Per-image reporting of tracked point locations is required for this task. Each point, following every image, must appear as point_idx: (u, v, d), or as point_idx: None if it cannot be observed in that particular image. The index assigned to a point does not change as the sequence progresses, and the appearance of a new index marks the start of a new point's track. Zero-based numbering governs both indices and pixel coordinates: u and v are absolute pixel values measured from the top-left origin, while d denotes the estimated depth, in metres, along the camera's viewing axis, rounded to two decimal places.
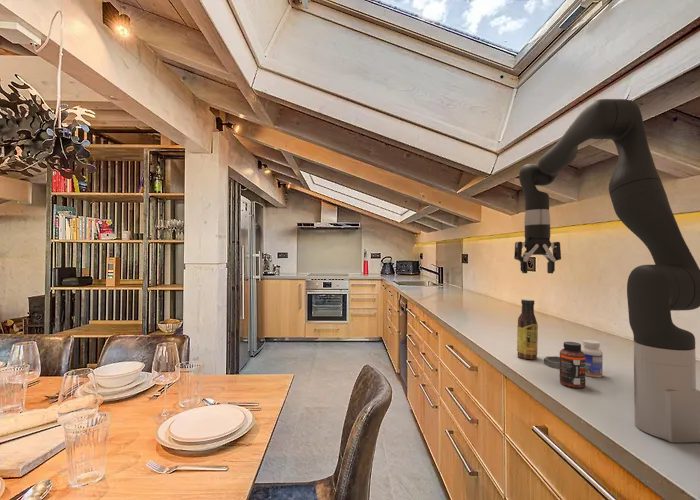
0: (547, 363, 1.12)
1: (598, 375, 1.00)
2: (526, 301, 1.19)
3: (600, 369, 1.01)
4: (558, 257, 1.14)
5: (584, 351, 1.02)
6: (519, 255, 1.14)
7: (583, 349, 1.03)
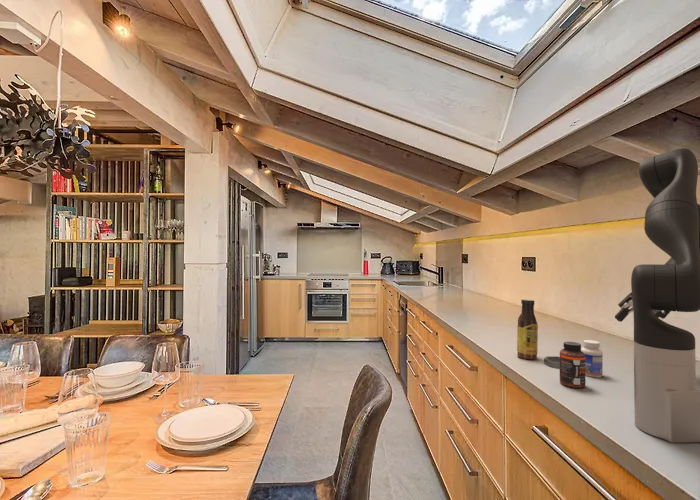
0: (547, 363, 1.12)
1: (598, 375, 1.00)
2: (526, 301, 1.19)
3: (600, 369, 1.01)
4: (656, 310, 0.98)
5: (584, 351, 1.02)
6: (621, 302, 1.10)
7: (583, 349, 1.03)
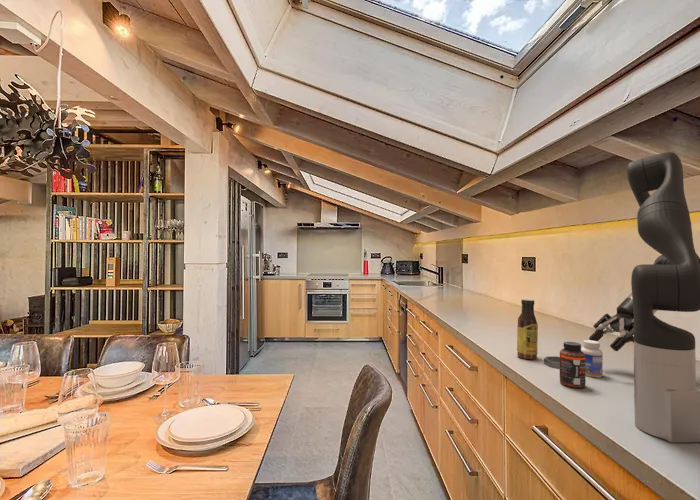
0: (547, 363, 1.12)
1: (598, 375, 1.00)
2: (526, 301, 1.19)
3: (600, 369, 1.01)
4: (628, 334, 0.97)
5: (584, 351, 1.02)
6: (596, 323, 1.10)
7: (583, 349, 1.03)
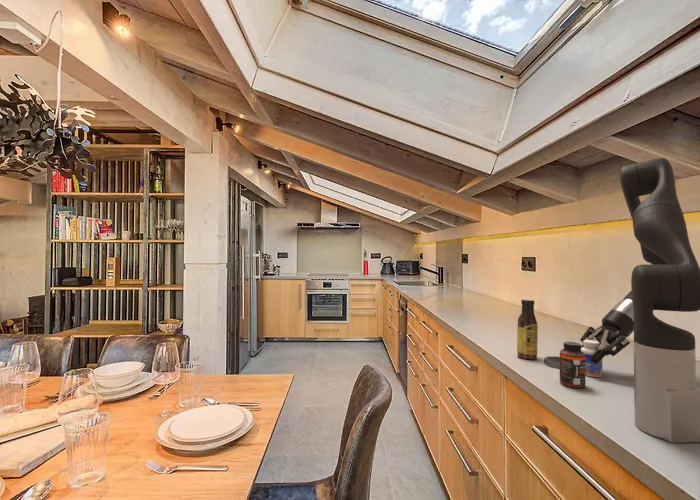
0: (547, 363, 1.12)
1: (598, 375, 1.00)
2: (526, 301, 1.19)
3: (600, 369, 1.01)
4: (607, 347, 0.98)
5: (584, 351, 1.02)
6: (582, 337, 1.09)
7: (583, 349, 1.03)
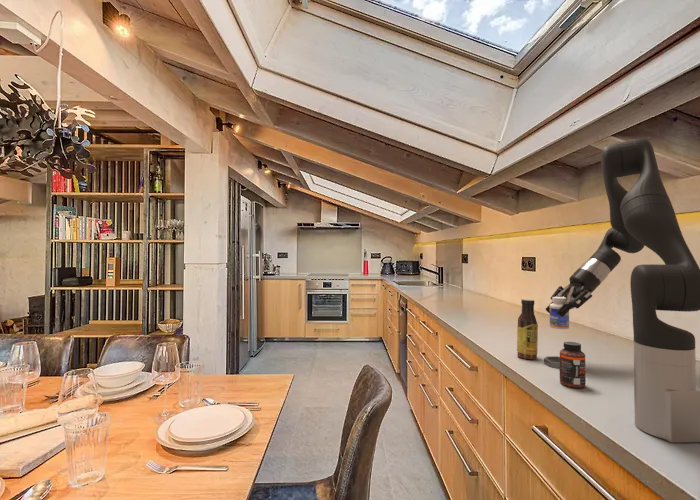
0: (547, 363, 1.12)
1: (565, 327, 1.10)
2: (526, 301, 1.19)
3: (566, 322, 1.10)
4: (572, 300, 1.07)
5: (552, 306, 1.12)
6: (552, 295, 1.18)
7: (551, 304, 1.12)
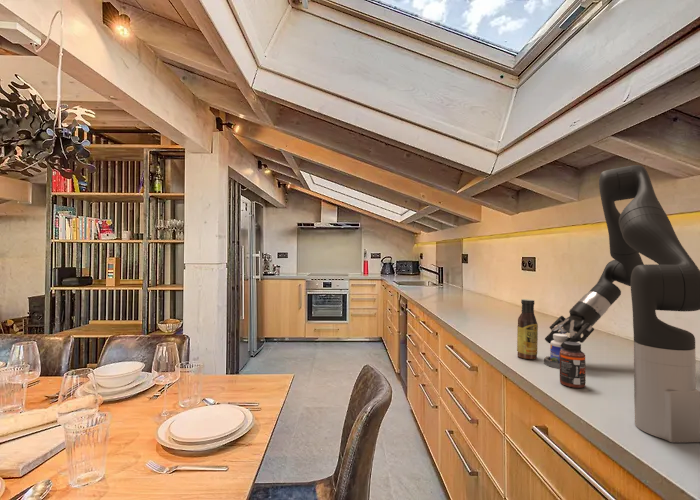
0: (547, 363, 1.12)
1: None
2: (526, 301, 1.19)
3: None
4: (576, 334, 1.06)
5: (553, 343, 1.11)
6: (552, 325, 1.19)
7: (552, 342, 1.12)
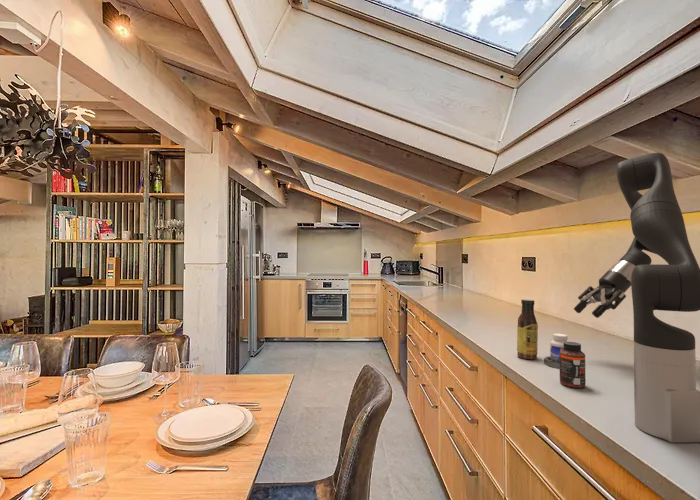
0: (547, 363, 1.12)
1: None
2: (526, 301, 1.19)
3: None
4: (608, 301, 1.06)
5: (553, 343, 1.11)
6: (580, 295, 1.19)
7: (552, 342, 1.12)
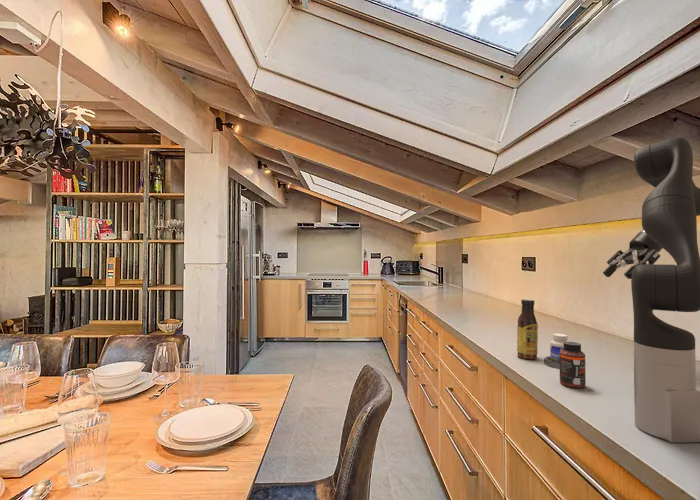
0: (547, 363, 1.12)
1: None
2: (526, 301, 1.19)
3: None
4: (641, 261, 1.03)
5: (553, 343, 1.11)
6: (609, 259, 1.16)
7: (552, 342, 1.12)
